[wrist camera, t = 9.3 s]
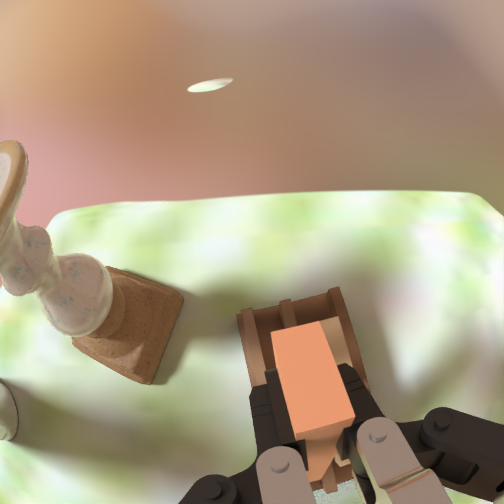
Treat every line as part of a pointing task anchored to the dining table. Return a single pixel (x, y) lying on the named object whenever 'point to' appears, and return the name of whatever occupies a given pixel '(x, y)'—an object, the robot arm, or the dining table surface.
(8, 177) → the candle holder
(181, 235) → the dining table surface
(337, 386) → the slat
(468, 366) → the dining table surface
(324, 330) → the offcut block
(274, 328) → the rack
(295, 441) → the robot arm
